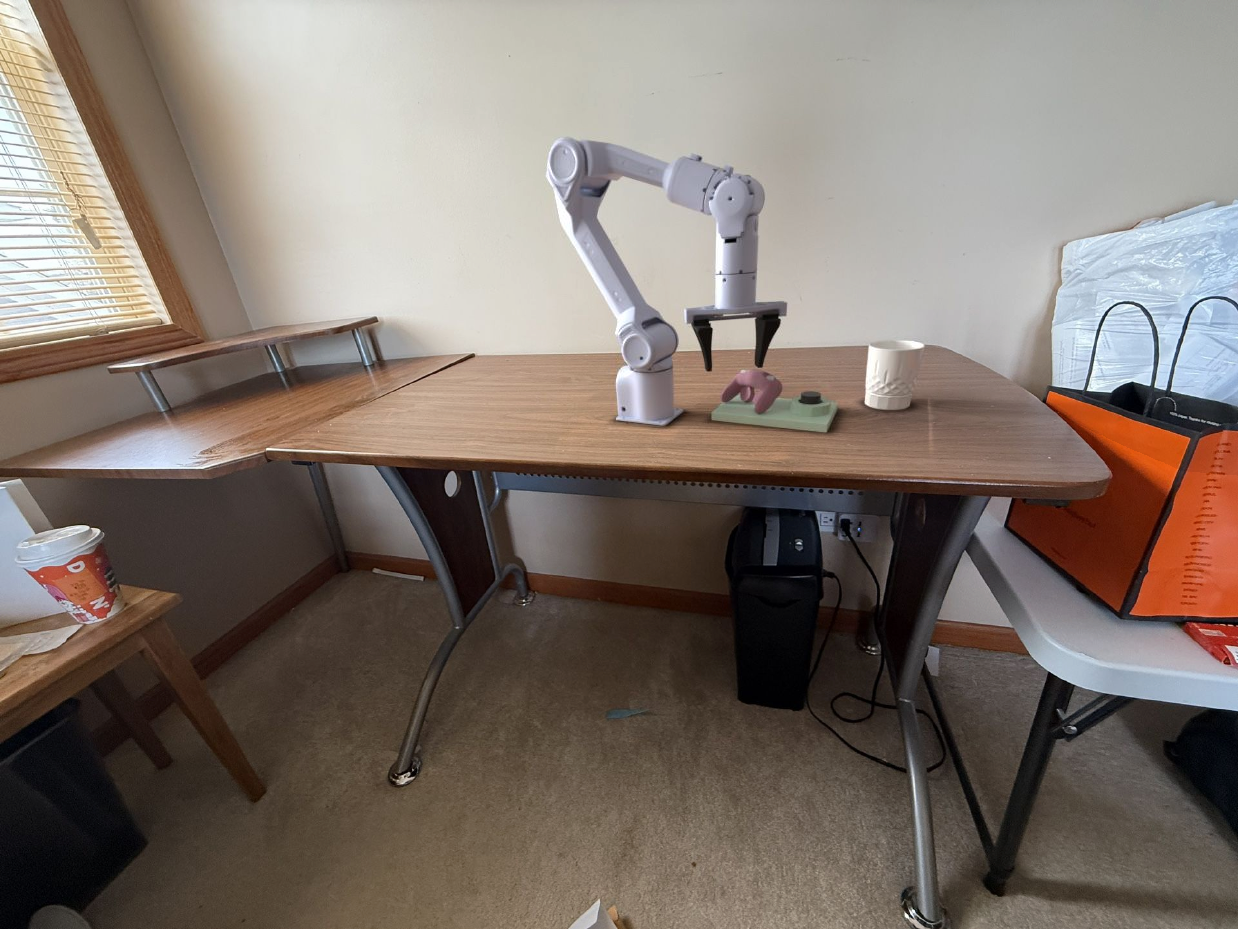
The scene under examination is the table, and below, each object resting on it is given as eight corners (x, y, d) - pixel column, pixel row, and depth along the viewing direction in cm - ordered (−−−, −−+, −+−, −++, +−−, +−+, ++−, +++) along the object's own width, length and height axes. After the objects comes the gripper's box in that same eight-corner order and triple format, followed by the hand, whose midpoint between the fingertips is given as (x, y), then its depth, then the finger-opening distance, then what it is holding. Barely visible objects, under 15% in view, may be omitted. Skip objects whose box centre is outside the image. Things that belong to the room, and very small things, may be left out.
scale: (711, 420, 80) (711, 403, 79) (731, 401, 88) (732, 385, 87) (826, 433, 71) (828, 414, 70) (837, 410, 80) (839, 393, 79)
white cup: (923, 410, 77) (936, 347, 73) (873, 413, 77) (883, 351, 73) (898, 396, 84) (908, 338, 80) (852, 399, 84) (860, 342, 80)
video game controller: (774, 420, 78) (791, 379, 77) (756, 413, 76) (773, 371, 74) (734, 406, 86) (748, 368, 85) (716, 399, 84) (731, 361, 82)
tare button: (798, 405, 76) (799, 395, 75) (802, 399, 78) (803, 390, 77) (818, 406, 74) (819, 397, 74) (821, 401, 77) (822, 391, 76)
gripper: (778, 267, 71) (773, 359, 76) (681, 275, 71) (682, 365, 77) (794, 269, 64) (787, 369, 70) (687, 278, 65) (688, 376, 70)
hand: (733, 368), depth 73 cm, fingers open, 7 cm apart
